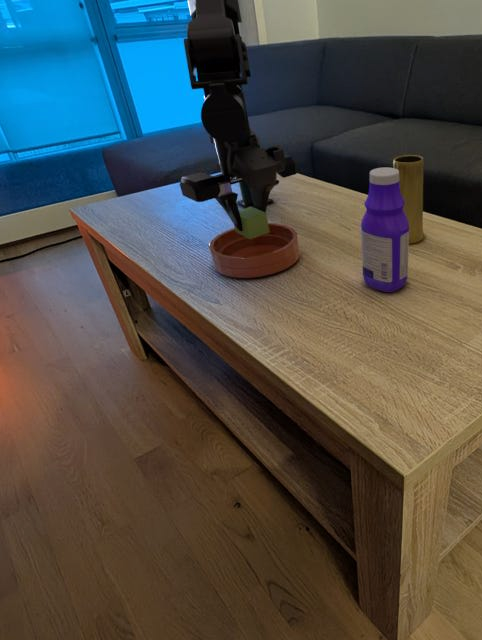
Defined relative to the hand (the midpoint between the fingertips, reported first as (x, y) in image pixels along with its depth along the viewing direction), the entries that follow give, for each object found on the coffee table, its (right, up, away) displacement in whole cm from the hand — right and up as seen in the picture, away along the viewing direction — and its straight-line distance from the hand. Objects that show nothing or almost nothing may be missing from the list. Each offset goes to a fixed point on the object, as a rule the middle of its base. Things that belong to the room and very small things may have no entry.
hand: (251, 226), depth 78 cm
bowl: (0, -5, +4) cm, 6 cm away
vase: (+28, 0, +8) cm, 29 cm away
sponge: (0, -1, +1) cm, 1 cm away
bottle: (+23, -11, -6) cm, 26 cm away
